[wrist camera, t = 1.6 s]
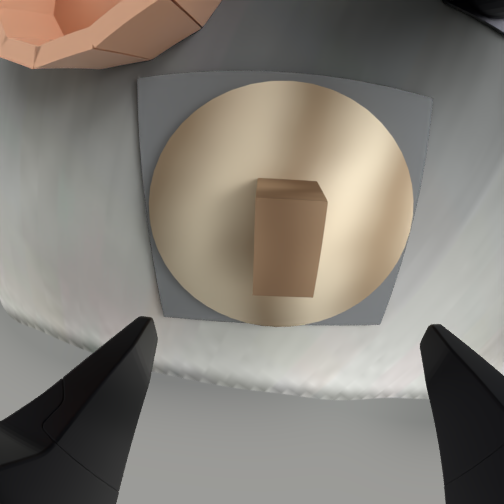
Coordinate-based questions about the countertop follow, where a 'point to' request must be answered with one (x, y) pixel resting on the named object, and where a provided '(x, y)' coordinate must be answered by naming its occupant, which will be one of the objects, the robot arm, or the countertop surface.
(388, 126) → the mat
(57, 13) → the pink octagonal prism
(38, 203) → the countertop surface
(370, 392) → the countertop surface
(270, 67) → the countertop surface
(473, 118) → the countertop surface
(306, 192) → the lid
